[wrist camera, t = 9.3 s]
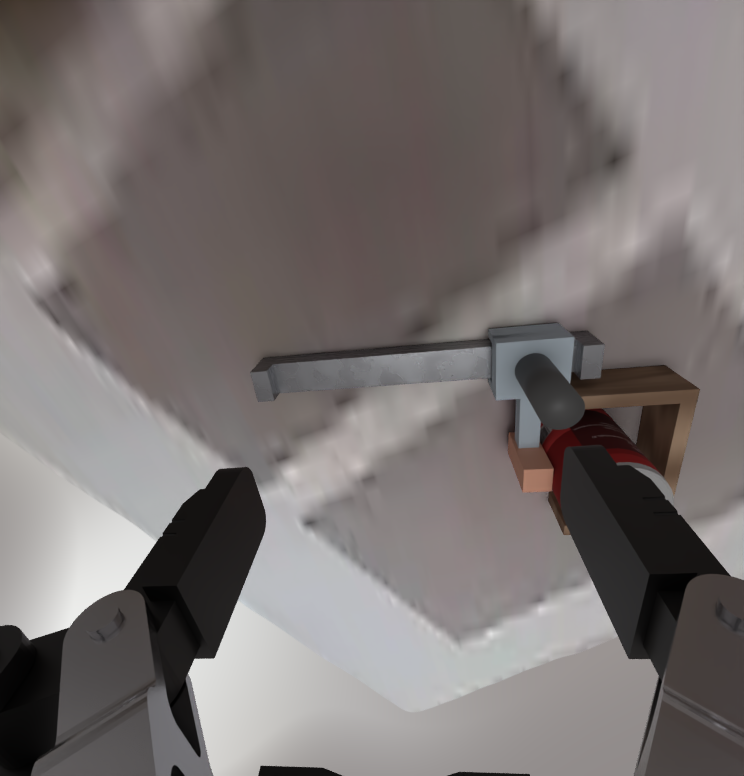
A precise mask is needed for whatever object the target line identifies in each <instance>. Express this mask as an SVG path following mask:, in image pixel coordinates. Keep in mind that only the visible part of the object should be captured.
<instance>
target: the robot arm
mask: <svg viewBox="0 0 744 776" xmlns="http://www.w3.org/2000/svg"><path fill="white" fill-rule="evenodd" d="M560 504H561V510H562V514H563V518H564V521H565V523H566V525H567V528H568V530H569V532H570V534H571V536H572V538H573V540H574V543H575V545H576V547H577V549H578V551H579V553H580V555H581V558H582V560H583V562H584V564H585V566H586V568H587V570H588V573H589V575H590V577H591V579H592V581H593V583H594V585H595V588H596V590H597V592H598V594H599V596H600V598H601V600H602V603H603V605H604V607H605V609H606V611H607V613H608V615H609V618H610V620H611V622H612V624H613V626H614V628H615V631H616V633H617V635H618V637H619V639H620V641H621V643H622V646H623V648H624V650H625V652H626V654H627V656H628V658H629V659H651V661H652V663H653V665H654V667H655V669H656V671H657V673H658V675H659V676H658V680H657V683H656V687H655V691H654V695H653V699H652V704H651V707H650V711H649V716H648V720H647V723H646V727H645V732H644V736H643V740H642V744H641V748H640V752H639V756H638V760H637V764H636V768H635V772H634V776H744V580H741V579H738V578H735V577H731V576H730V575H729V573H728V572H727V571H726V570H725V569H724V567H723V566H722V565H721V564H720V563H719V561H718V560H717V559H716V558H715V556H714V555H713V554H712V553H711V552H710V550H709V549H708V548H707V547H706V545H705V544H704V543H703V542H702V541H701V539H700V538H699V537H698V536H697V534H696V533H695V532H694V531H693V530H692V528H691V527H690V526H689V525H688V524H687V522H686V521H685V520H684V519H683V517H682V516H681V515H678V513H677V510H676V509H675V508H674V506H673V505H672V504H671V503H670V502H669V500H666V499H665V495H664V494H663V493H662V492H661V491H660V489H659V488H658V487H657V486H656V485H655V483H654V482H653V481H652V480H651V479H650V478H649V477H647V476H646V475H644V474H643V473H641V472H640V471H638V470H636V469H635V468H633V467H632V466H630V465H617V464H616V462H615V461H614V460H613V458H612V457H611V456H610V454H609V453H608V452H607V450H606V449H605V448H604V447H603V446H602V445H589V446H574V447H567V448H566V449H565V452H564V459H563V470H562V481H561V492H560ZM265 527H266V514H265V509H264V506H263V503H262V500H261V497H260V494H259V491H258V488H257V485H256V482H255V479H254V476H253V473H252V471H251V470H250V469H249V468H248V467H242V468H227V469H219V470H218V471H216V473H215V474H214V476H213V477H212V479H211V480H210V482H209V484H208V485H207V487H206V488H205V489H200V490H199V491H197V492H196V493H195V494H194V495H193V496H191V497H190V498H189V499H188V500H187V501H186V502H184V503H183V504H182V506H181V507H180V509H179V510H178V512H177V513H176V515H175V516H174V518H173V519H172V523H169V525H168V526H167V528H166V529H165V531H164V532H163V536H162V537H160V538H159V539H158V541H157V542H156V544H155V545H154V547H153V548H152V550H151V551H150V553H149V554H148V556H147V557H146V559H145V560H144V561H143V563H142V564H141V566H140V567H139V569H138V570H137V572H136V573H135V574H134V576H133V577H132V579H131V580H130V582H129V583H128V585H127V586H126V588H125V589H124V590H122V591H117V592H114V593H111V594H109V595H107V596H105V597H103V598H101V599H99V600H97V601H96V602H95V603H93V604H92V605H91V606H89V607H88V608H87V609H85V610H84V611H83V612H82V613H81V614H80V615H79V616H78V617H77V618H76V620H75V621H74V622H73V623H72V625H71V626H70V628H67V629H64V630H61V631H58V632H55V633H51V634H48V635H45V636H42V637H38V638H35V639H32V640H29V639H28V638H27V637H26V636H25V635H24V634H23V632H22V631H21V630H20V629H19V628H18V627H16V626H13V625H5V626H0V776H213V773H212V770H211V768H210V763H209V759H208V755H207V750H206V746H205V741H204V737H203V732H202V728H201V724H200V719H199V714H198V710H197V705H196V701H195V696H194V691H193V687H192V682H191V679H190V677H189V675H188V672H189V670H190V667H191V665H192V663H193V661H194V659H195V658H196V659H200V658H201V659H202V658H215V656H216V653H217V651H218V648H219V646H220V643H221V640H222V638H223V635H224V633H225V630H226V628H227V625H228V623H229V620H230V618H231V615H232V613H233V610H234V608H235V605H236V603H237V600H238V598H239V595H240V593H241V590H242V588H243V585H244V583H245V580H246V578H247V575H248V573H249V570H250V568H251V565H252V563H253V560H254V558H255V555H256V553H257V550H258V548H259V545H260V543H261V540H262V538H263V535H264V532H265ZM258 776H342V775H339V774H337V773H334V772H332V771H329V770H327V769H324V768H314V767H311V768H310V767H282V766H280V767H279V766H261V767H260V771H259V775H258ZM448 776H530V774H509V773H506V774H505V773H474V772H458V773H455V774H452V775H448Z"/></svg>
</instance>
